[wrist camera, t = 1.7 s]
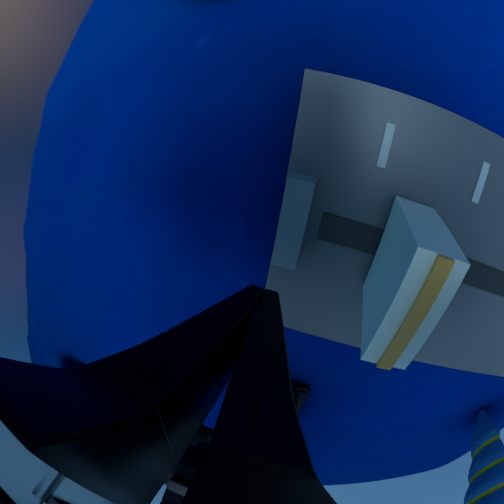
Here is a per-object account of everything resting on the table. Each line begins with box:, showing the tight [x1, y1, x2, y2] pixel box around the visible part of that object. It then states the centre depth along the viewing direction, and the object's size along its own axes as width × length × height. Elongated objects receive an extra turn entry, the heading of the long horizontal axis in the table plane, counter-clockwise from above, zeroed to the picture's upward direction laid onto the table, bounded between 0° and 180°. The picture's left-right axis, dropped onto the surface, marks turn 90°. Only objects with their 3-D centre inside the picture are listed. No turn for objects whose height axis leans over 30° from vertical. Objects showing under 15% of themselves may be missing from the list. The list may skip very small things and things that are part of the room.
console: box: [265, 69, 504, 377], centre depth 12 cm, size 14×24×3 cm, turn 82°
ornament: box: [464, 409, 504, 504], centre depth 12 cm, size 5×5×15 cm
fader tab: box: [360, 196, 470, 370], centre depth 10 cm, size 5×2×5 cm, turn 172°
